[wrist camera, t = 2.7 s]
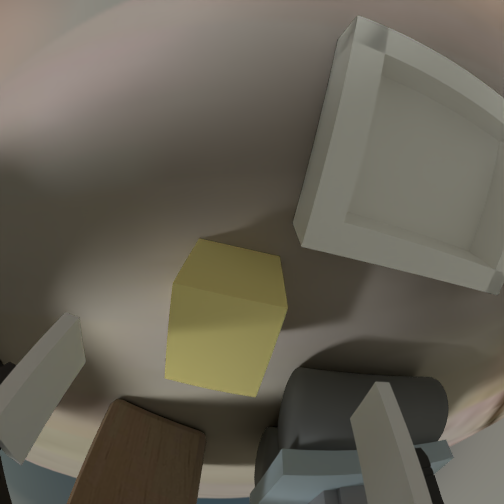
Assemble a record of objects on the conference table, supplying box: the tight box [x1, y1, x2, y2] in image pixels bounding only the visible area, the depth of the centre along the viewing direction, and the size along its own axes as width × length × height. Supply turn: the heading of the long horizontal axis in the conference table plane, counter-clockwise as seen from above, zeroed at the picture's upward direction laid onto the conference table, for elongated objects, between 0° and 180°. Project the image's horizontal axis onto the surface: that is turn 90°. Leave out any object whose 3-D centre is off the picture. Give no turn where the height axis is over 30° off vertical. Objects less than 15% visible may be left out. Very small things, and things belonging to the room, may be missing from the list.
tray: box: [293, 15, 504, 295], centre depth 14 cm, size 15×12×4 cm
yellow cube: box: [165, 238, 288, 397], centre depth 16 cm, size 5×6×6 cm
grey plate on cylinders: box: [250, 367, 453, 504], centre depth 18 cm, size 14×15×12 cm
